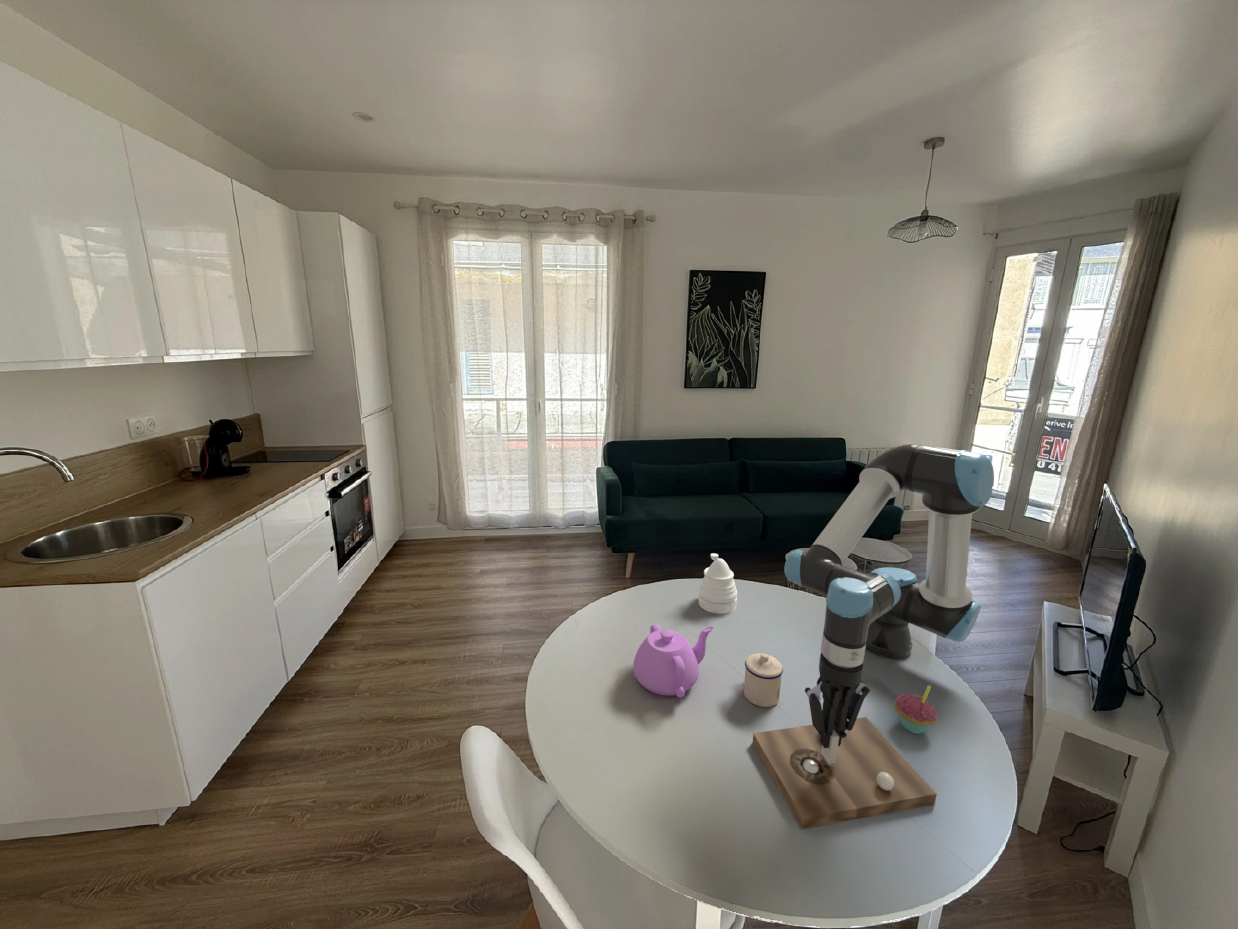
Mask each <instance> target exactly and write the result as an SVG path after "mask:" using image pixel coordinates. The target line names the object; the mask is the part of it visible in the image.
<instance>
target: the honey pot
mask: <svg viewBox="0 0 1238 929" xmlns="http://www.w3.org/2000/svg"><path fill="white" fill-rule="evenodd" d="M710 558H711V560H713V562H712V563H711V564H710V566H709V567H706V568H705V569H704V570H703V574H704V577H703V578H702V581H701V584H700V585H699V589H698V590H699V591H698V600H697V601H698V605H699V606H700V607H701V609H703V610H704V611H707V612H709V613H713V614H719V615H720V614H723V615H724V614H729V613H733V612H734V611H735V610H736V609H737V603H738V590H737V587H736V582H735V579H734V576H735V574H734V571H732V570H731V569H730V567H729V565H728V563H727V562H726V561H725V560H724V559H723V558H720V557H719V554H718V553H714V552H713V553H710Z"/></svg>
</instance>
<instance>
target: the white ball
mask: <svg viewBox="0 0 1238 929" xmlns="http://www.w3.org/2000/svg"><path fill="white" fill-rule="evenodd" d="M876 780H877V783H878V785H879V786H880V787H881V788H882V789H883V790H887V791H888V790H891V789H892V788H893V787H894V780H893V778H892V777H891V776H890V775H889V774H888V773H886V772H880V773H879V774H878V775H877V778H876Z"/></svg>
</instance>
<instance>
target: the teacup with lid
mask: <svg viewBox="0 0 1238 929" xmlns="http://www.w3.org/2000/svg"><path fill="white" fill-rule="evenodd" d="M744 666H745V668H744V684H743V695H744V696H745V699H747V701H749V702H750V703H752V704H753V705H755V706H757V707H761V708H770V707H771V708H772V707H774V706H776V705H777V704H778V703H779V701H780V694H781V693H780V692H781V685H782V684H781V683H782V676H783V675H782V674H783V673H784V668H783V665H782V663H781V661H779V660H778V659H777V658H776V657H774V656H772V655H770V654H767V653H753V654H749V656H747V657H746V659H745V661H744Z"/></svg>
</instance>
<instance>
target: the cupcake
mask: <svg viewBox="0 0 1238 929" xmlns="http://www.w3.org/2000/svg"><path fill="white" fill-rule="evenodd" d="M931 686H932V683H930V684H929V685H927V687H926V689H925V691H924V694H923V696H920V695H917V694H911V693H910V694H909V693H904V694H899V695H898V696H897V697H895V700H894V701H893V707H894V710H895V711H896V712H897V713H898V715H899V717H900V723H901V725H902V727H903V728H904V729H906V730H907V731H909V732H910V733H913V734H924V732H925V731H926V730H927V728H928V727H929V726H934V725H935V724H936V723H937V721H938V711H937V709H936V707H935V706H934V705H933V704H932V703H931V702H930V701H929V700H927V698H928V697H929V696H928V695H929V693H930V691H931V688H932V687H931Z"/></svg>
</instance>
